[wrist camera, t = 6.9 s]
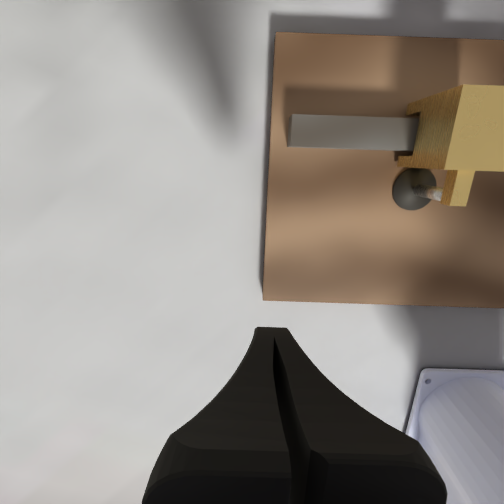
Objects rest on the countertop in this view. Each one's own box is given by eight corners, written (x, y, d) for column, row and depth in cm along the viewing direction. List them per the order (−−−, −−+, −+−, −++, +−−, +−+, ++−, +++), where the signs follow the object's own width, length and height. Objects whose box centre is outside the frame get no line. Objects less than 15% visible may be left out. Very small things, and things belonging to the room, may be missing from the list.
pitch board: (544, 302, 22) (666, 362, 15) (262, 292, 22) (265, 350, 15) (637, 53, 17) (873, -12, 10) (274, 40, 17) (287, -33, 10)
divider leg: (440, 197, 18) (499, 209, 14) (391, 195, 18) (435, 207, 14) (461, 105, 17) (535, 87, 12) (407, 103, 17) (463, 84, 12)
